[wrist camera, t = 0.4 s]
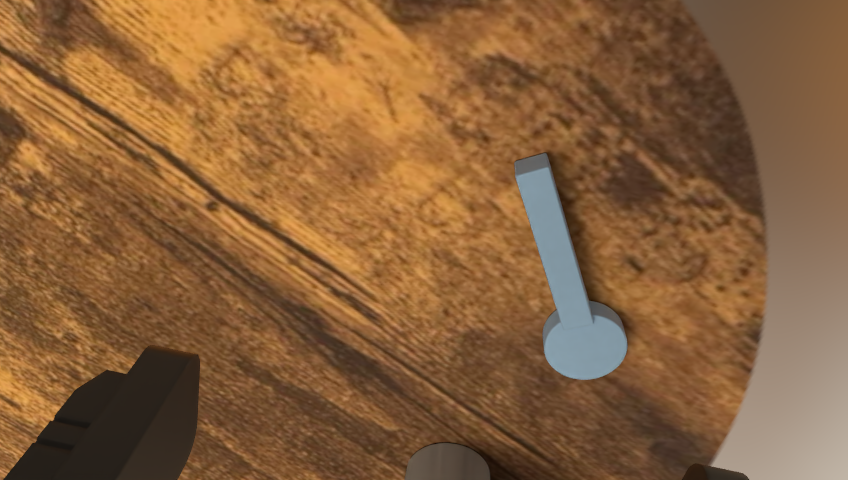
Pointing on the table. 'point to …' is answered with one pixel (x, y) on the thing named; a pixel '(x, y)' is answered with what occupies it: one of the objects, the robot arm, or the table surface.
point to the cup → (447, 464)
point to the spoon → (567, 284)
